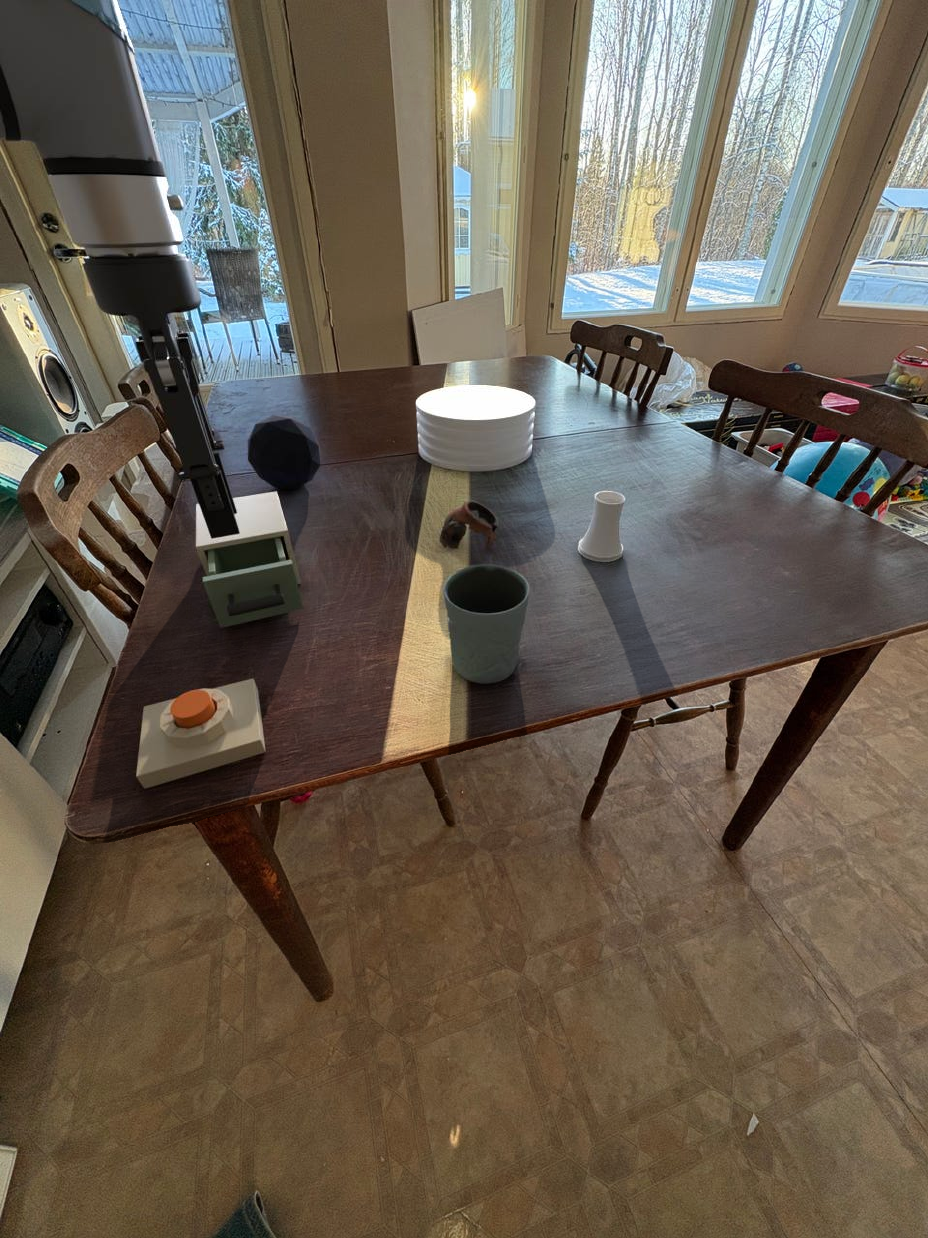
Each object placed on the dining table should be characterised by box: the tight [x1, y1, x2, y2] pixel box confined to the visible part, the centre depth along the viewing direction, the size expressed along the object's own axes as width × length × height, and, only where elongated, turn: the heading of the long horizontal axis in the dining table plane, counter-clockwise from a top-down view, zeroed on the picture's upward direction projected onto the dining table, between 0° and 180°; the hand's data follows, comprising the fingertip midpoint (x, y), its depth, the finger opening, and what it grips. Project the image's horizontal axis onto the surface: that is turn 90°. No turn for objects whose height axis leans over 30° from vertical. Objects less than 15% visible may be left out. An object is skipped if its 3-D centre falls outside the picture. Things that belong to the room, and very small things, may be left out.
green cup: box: [442, 563, 531, 685], centre depth 63 cm, size 10×10×12 cm
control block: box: [135, 677, 266, 790], centre depth 57 cm, size 12×10×4 cm
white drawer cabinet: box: [195, 490, 302, 585], centre depth 82 cm, size 15×13×10 cm
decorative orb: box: [247, 414, 322, 490], centre depth 107 cm, size 14×15×15 cm
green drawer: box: [202, 536, 305, 629], centre depth 74 cm, size 18×11×8 cm, turn 22°
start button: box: [170, 689, 216, 729], centre depth 55 cm, size 4×4×2 cm
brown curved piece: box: [439, 500, 500, 550], centre depth 89 cm, size 12×10×8 cm
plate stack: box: [415, 384, 536, 472], centre depth 123 cm, size 28×28×12 cm
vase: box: [577, 490, 626, 563], centre depth 86 cm, size 8×8×10 cm
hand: (224, 523), depth 54 cm, fingers open, 4 cm apart
